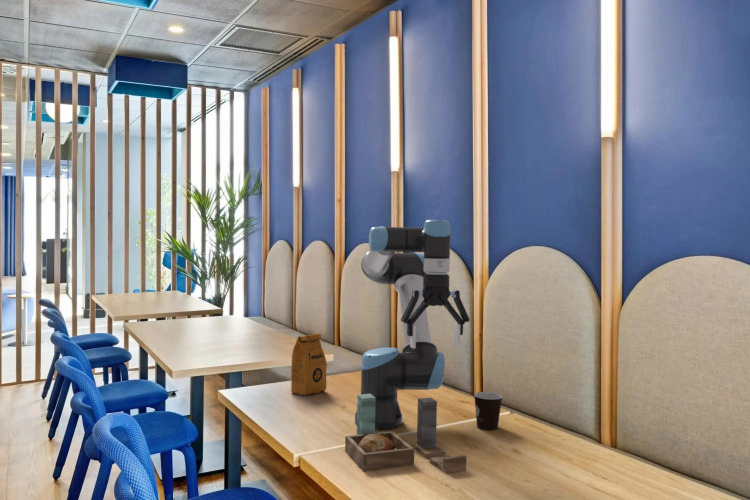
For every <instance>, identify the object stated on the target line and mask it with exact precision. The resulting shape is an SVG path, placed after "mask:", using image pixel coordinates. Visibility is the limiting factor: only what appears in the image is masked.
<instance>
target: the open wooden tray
mask: <svg viewBox="0 0 750 500" xmlns="http://www.w3.org/2000/svg"><path fill="white" fill-rule="evenodd" d="M375 399H376V397H374V396H373V395H372V394H362V395H361V394H357V399H356V400H357V401H356V402H357V403H356V411H357V424H356V434H352V435H346V436H345V440H344V441H345V443H344V444H345V445H344V452H345V453H346V454H347V455H348V456H349V457H350V458H351V460H353V462H354V463H355V464H356V465H357V466H358V468H360V469H361V471H362V472H368V471H369V472H370V471H377V470H384V469H392V468H401V467H409V466H415V449H414V448H413V446H411V445H410V444H409V443H408V442H407V441H405V440H404V439H403V438H401V437H400V436H399V435H397V433H395V432H394V431H384V432H382V431H381V432H376V429H375ZM369 434H379V435H383V436H384V437H387V438H388V439H389V440H390V441H391V442H392V443H393V445H394V446H395V450H388V451H379V452H370V453H365V451H364V450H363V449H362V448H361V447H360V446H359V443H360V442H361V440H362V439H363V438H364V437H365V436H367V435H369Z"/></svg>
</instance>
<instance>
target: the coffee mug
mask: <svg viewBox="0 0 750 500" xmlns="http://www.w3.org/2000/svg"><path fill="white" fill-rule="evenodd" d="M473 395H474V396H473V397H474V398H473V399H474V406H475V419H476V427H477V429H480V430H482V431H497V430H498V428H499V420H500V414H501V407H502V400H503V395H501V394H499V393H495V392H489V391H485V392H484V391H482V392H481V391H479V392H476V393H474V394H473Z"/></svg>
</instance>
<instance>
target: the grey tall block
mask: <svg viewBox="0 0 750 500" xmlns="http://www.w3.org/2000/svg"><path fill="white" fill-rule="evenodd" d="M437 412H438V401H437V400H436V399H434V398H432V397H424V398H423V397H422V398H417V422H416V428H417V429H416V443H413V446H412V448H414V451H416V452H417V453H418V454H420V455H421V456H422V457H423V458H424V459H430V458H434V457H441V456H447V455H446V454H447V452H446V451H447V450H444V449H443V448H442V447H441V446H440V445H438V444H437V415H438V413H437Z"/></svg>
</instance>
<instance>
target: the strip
mask: <svg viewBox="0 0 750 500" xmlns="http://www.w3.org/2000/svg"><path fill="white" fill-rule="evenodd" d="M429 463H430V464H431V465H433V466H434V467H435V468H437V469H438V470H439V471H441V472H443V473H444V474H447V475H448V474H450V473H451V474H452V473H457V472H464V471H466V470H467V455H465V454H459V455H453V456H452V455H448V454H447V455H446V456H441V457H432V458H429Z"/></svg>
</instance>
